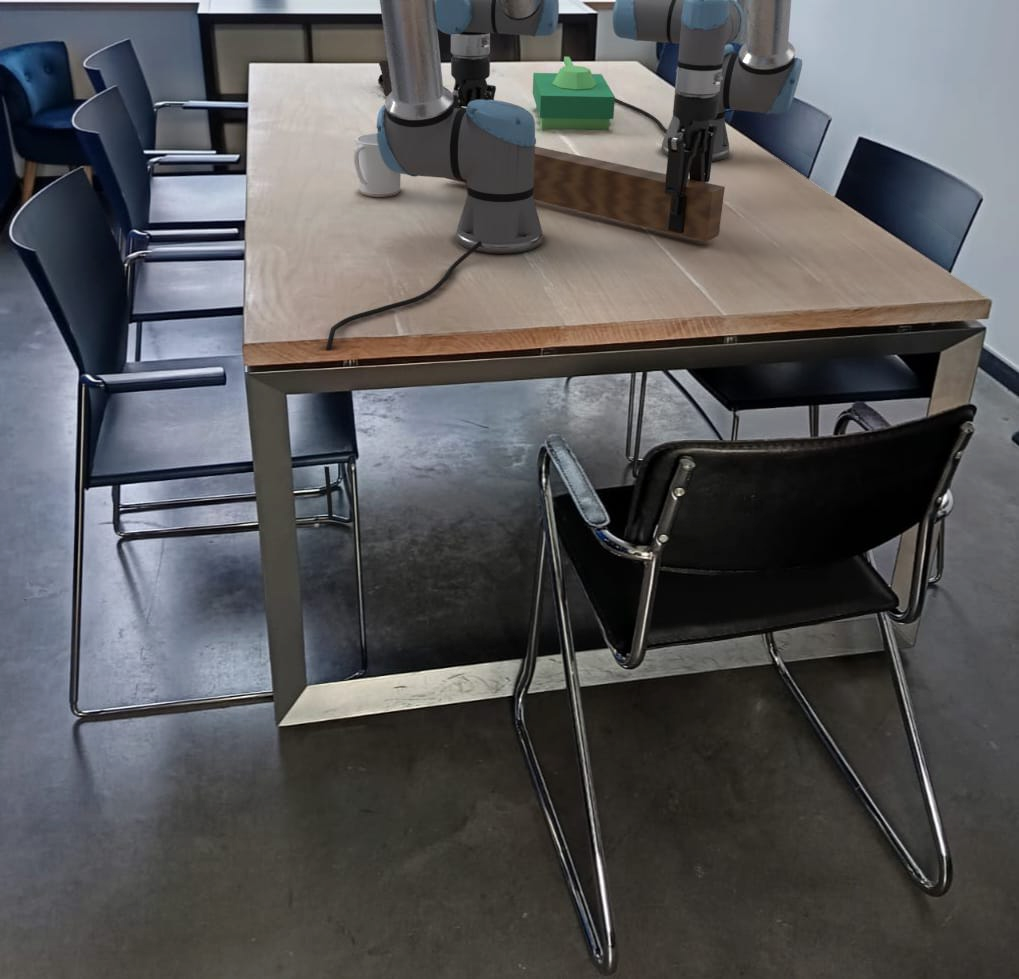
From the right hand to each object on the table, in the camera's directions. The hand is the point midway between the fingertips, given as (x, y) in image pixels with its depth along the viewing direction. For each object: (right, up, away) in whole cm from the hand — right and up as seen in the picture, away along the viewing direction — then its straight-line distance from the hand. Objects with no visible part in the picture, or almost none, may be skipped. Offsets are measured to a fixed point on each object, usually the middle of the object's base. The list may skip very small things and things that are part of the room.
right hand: (683, 227), depth 197 cm
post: (-20, +8, +13) cm, 25 cm away
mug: (-58, +12, +22) cm, 63 cm away
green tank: (-16, +48, +81) cm, 95 cm away
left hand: (-39, +16, +25) cm, 49 cm away
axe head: (-61, +62, +103) cm, 135 cm away
